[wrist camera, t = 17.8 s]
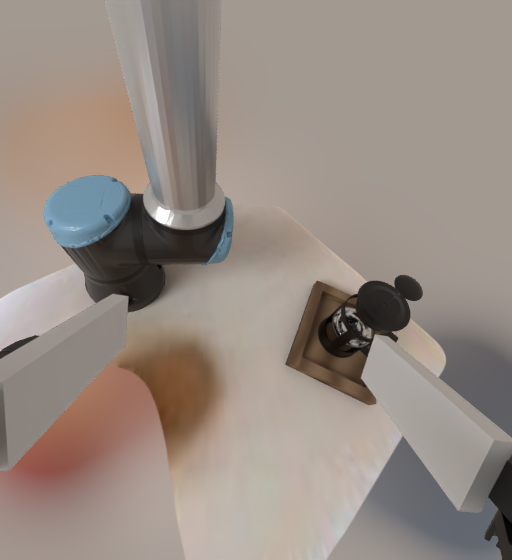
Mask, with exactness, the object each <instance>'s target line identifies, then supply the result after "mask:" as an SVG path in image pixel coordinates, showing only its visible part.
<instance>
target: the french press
mask: <svg viewBox="0 0 512 560" xmlns="http://www.w3.org/2000/svg"><path fill="white" fill-rule="evenodd" d="M422 295H423V291H422V288H421V286H420V284H419V283H418V282H417V281H416V280H415V279H413V278H412V277H410V276H407V275H400V276H398V277H396V279H395V288H394V287H393V286H391V285H389V284H387V283H385V282H381V281H369V282H367V283H365V284H364V285H362V286H361V288H360V289H359V291H358V294H355V295H352V296H351V297H349V298H348V299H347V300H346V301H345V302H344V303H343V304H342V305H341V306H339V307H338V308H337V309H336V310H335V311H334V312H333V313H332V314H331V315H330V316H329V317H327V318H325V319H324V320H323V321H322V322H321V323H320V325H319V328H318V337H319V341H320V343H321V345H322V346H323V348H324V349H325V350H326V351H327V352H328V353H330V354H331V355H333V356H335V357H339V358H347V357H350V356H352V355H353V354H354V353H355V352H357V351H359V350H360V351H361V352H362V353H363V354H364V355H365V356H366V357H368V354H369V351H370V349H369V348H368V347H367V346H369V345H371V344H372V342H373V339H374V338H373V339H372V333H373V331H372V330H374V331H377V332H383V333H382V334H380V335H382V336H388V337H389V338H391V339H392V340H393V341H394V342H395V343H396V342H397V340H398V337H397V336H395V335H394V334H393V333H392V332H393V331H399V330H401V329H403V328H404V327H406V326H407V324H408V323H409V320H410V309H409V306H408V303H407V301H406V300H405V298H406V299H408V300H411V301H417V300H419V299H421V297H422ZM351 298H357V302H356V306H355V308H351V307H345V306H346V303H347V301H348V300H349V299H351ZM341 307H342V308H341ZM330 322H332V327H333V331H334V333H335V335H336V337H337V338H336V339H335V340H333V341H332V342H331V341H330V340H329V338H328V336H327V333H326V325H327V324H328V323H330ZM343 345H347V346H350V347H351V348H350V349H349V350H347V351H342V350H340V349H338V348H340V347H341V346H343Z"/></svg>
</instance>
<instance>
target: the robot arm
mask: <svg viewBox="0 0 512 560" xmlns="http://www.w3.org/2000/svg"><path fill="white" fill-rule="evenodd" d="M104 1H105V5H106V8H107V13H108V17H109V21H110V25H111V29H112V33H113V37H114V41H115V45H116V49H117V52H118V57H119V61H120V64H121V69H122V73H123V77H124V80H125V85H126V88H127V92H128V96H129V100H130V104H131V108H132V112H133V116H134V120H135V124H136V128H137V132H138V136H139V140H140V144H141V148H142V152H143V156H144V160H145V164H146V168H147V172H148V176H149V180H150V183H149V184H148V185H147V187H146V188H145V191H144V194H132V193H130V191H129V190H128V189H127V187H126V186H125V185H124V184H123V183H122V182H120V181H117V179H115V178H113V177H109V176H103V175H92V176H85V177H81V178H77V179H75V180H72V181H70V182H68V183H67V184H65V185H64V186H61V187H60V188H58V189H57V190H56V191H55V192H54V193H53V194H52V195H51V196H50V197H49V199H48V200H47V202H46V204H45V207H44V220H45V223H46V225H47V227H48V228H49V230H50V231H51V233H52V234H53V237H54V239H55V240H56V242H57V243H59V244H60V245H61V246H62V248H63V249H64V250H65V251H66V252H67V254H68V255H69V256H70V257H71V258H72V259H73V261H74V262H75V263H76V264H77V265H78V267H79V268H80V269H81V270H82V271H83V272H84V276H85V286H86V290H87V292H88V294H89V296H90V297H91V298H92V299H93V300H94V301H95V303H96V304H94V305H93V306H91V307H89V308H87V309H86V310H84V311H82V312H80V313H79V314H77V315H75V316H74V317H72V318H70V319H68V320H67V321H65V322H63V323H62V324H60V325H58V326H56V327H55V328H53V329H51V330H49V331H48V332H46V333H44V334H43V335H41V336H36V335H35V336H32V337H29V338H26V339H23V340H20V341H17V342H15V343H13V344H11V345H9V346H8V347H6V348H4V349H2V351H0V470H1V471H10V469H11V468H12V467H13V466H14V465H15V464H16V463H17V462H18V461H19V459H20V458H22V457H23V455H24V454H25V453H26V452H27V451H28V450H29V449H30V448H31V447H32V446H33V445H34V444H35V442H36V441H37V440H38V439H39V438H40V437H41V436H42V435H43V434H44V433H45V432H46V431H47V430H48V428H49V427H50V426H51V425H52V424H53V423H54V422H55V421H56V420H57V419H58V418H59V417H60V416H61V414H62V413H63V412H64V411H65V410H66V409H67V408H68V407H69V406H70V405H71V404H72V403H73V401H74V400H75V399H76V398H77V397H78V396H79V395H80V394H81V393H82V391H84V389H86V387H87V386H88V385H89V384H90V383H91V382H92V381H93V380H94V379H95V378H96V377H97V376H98V374H99V373H100V372H101V371H102V370H103V369H104V368H105V367H106V366H107V365H108V364H109V363H110V362H111V360H112V359H113V358H114V357H115V356H116V355H117V354H118V353H119V352H120V351H121V350H122V349H123V348H124V346H125V342H126V327H127V312H131V311H135V310H138V309H141V308H143V307H145V306H147V305H148V304H150V303H151V302H153V301H154V300H155V299H156V298H157V297H158V295H159V294H160V293H161V291H162V289H163V287H164V283H165V273H164V269H163V266H162V265H170V264H201V265H207V264H210V263H220V262H222V261H223V260H225V259H226V257H227V255H228V253H229V250H230V246H231V242H232V231H233V207H232V203H231V200H230V199H229V198H227V197H225V196H224V193H223V191H222V189H221V187H220V186H219V185H218V184H217V183H216V153H217V152H216V150H217V122H218V121H217V120H218V92H219V91H218V90H219V61H220V60H219V59H220V30H221V0H104ZM361 379H362V380H363V381H364V383H365V384H366V385H367V387H368V388H369V390H370V391H371V392H372V394H373V395H374V396H375V398H376V399H377V401H378V402H379V403H380V405H381V406H382V407H383V409H384V410H385V411H386V413H387V414H388V416H389V417H390V418H391V420H392V421H393V422H394V424H395V425H396V426H397V428H398V429H399V431H400V432H401V433H402V435H403V436H404V437H405V439H406V440H407V441H408V443H409V444H410V446H411V447H412V448H413V450H414V451H415V452H416V454H417V455H418V456H419V458H420V459H421V461H422V462H423V463H424V465H425V466H426V467H427V469H428V470H429V471H430V473H431V474H432V476H433V477H434V478H435V480H436V481H437V482H438V484H439V485H440V486H441V488H442V489H443V490H444V492H445V493H446V494H447V496H448V497H449V499H450V500H451V501H452V503H453V504H454V505H455V507H456V508H457V510H458V511H466V512H476V513H481V511H482V509H483V507H484V505H485V503H486V502H487V500H488V498H490V499H491V501H492V502H493V503H494V504H495V505H496V506H497V507H498V511H497V513H496V515H495V516H494V518H493V520H492V522H491V524H490V525H489V527H488V529H487V531H486V533H485V539H486V540H488V541H490V539H491V537H492V536H498V540H499V541H498V543H497V544H496V547H498V548H499V549H500V550H501V555H502V560H512V438H511V437H510V436H509V435H508V434H506V433H505V432H504V431H502V430H501V429H500V428H499V427H498V426H496V425H495V424H494V423H493V422H492V421H490V420H489V419H488V418H487V417H486V416H484V415H483V414H482V413H481V412H480V411H478V410H477V409H476V408H475V407H473V406H472V405H471V404H470V403H469V402H467V401H466V400H465V399H464V398H462V397H461V396H460V395H459V394H458V393H456V392H455V391H454V390H453V389H452V388H450V387H449V386H448V385H447V384H445V383H444V382H443V381H442V380H441V379H439V378H438V377H437V376H436V375H434V374H433V373H432V372H431V371H430V370H428V369H427V368H426V367H425V366H424V365H422V364H421V363H420V362H419V361H417V360H416V359H415V358H414V357H413V356H411V355H410V354H409V353H408V352H406V351H405V350H404V349H403V348H402V347H400V346H399V345H398V344H397V343H395V342H394V341H393V340H392V339H391V338H389V337H388V336H382V335H376V334H375V336H374V339H373V342H372V345H371V348H370V351H369V354H368V357H367V361H366V364H365V367H364V370H363V373H362V376H361Z"/></svg>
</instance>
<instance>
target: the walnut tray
mask: <svg viewBox="0 0 512 560" xmlns="http://www.w3.org/2000/svg"><path fill="white" fill-rule="evenodd" d="M349 297H351V296H350V295H348V294H346V293H344V292H342V291H339V290H337V289H335V288H333V287H331V286H328V285H326V284H324V283H322V282H320V281H316V283H315V284H314V285H313V288H312V291H311V294H310V297H309V299H308V302H307V305H306V308H305V311H304V314H303V316H302V319H301V322H300V325H299V328H298V331H297V333H296V336H295V339H294V342H293V345H292V348H291V350H290V353H289V356H288V359H287V362H286V365H287V366H290V367H292V368H294V369H296V370H298V371H300V372H302V373H304V374H306V375H308V376H310V377H312V378H314V379H316V380H318V381H320V382H322V383H324V384H327V385H329V386H331V387H333V388H335V389H337V390H339V391H341V392H343V393H345V394H347V395H349V396H351V397H353V398H355V399H357V400H359V401H361V402H364V403H366V404H368V405H372V404H376V398H375V396H374V395H373V394H372V392H371V391H370V390H369V388H368V387H367V385H366V384H365V383H364V381H363V380H362V379H361V376H362V373H363V370H364V367H365V364H366V361H367V357H366V356H365V355H364V354H363V353H362V352H361V351H360V350H359V351H357V352H355V353H354V354H353V355H352V356H350V357H347V358H339V357H335V356H333V355H331V354H330V353H328V352H327V351H326V350H325V349H324V348H323V346H322V345H321V343H320V341H319V337H318V328H319V325H320V323H321V322H322V321H323V320H324V319H325V318H327V317H329V316H330V315H331V314H332V313H333V312H334V311H335V310H336V309H337V308H338V307H339V306H341V305H342V304H343V303H344V302H345V301H346V300H347V299H348V298H349ZM356 302H357V298H351V299H349V300H348V301H347V303H346V306H345V307H351V308H355V306H356ZM341 308H342V307H341ZM372 331H373V333H372V339H373V338H374V336H375V334H376V335H380V334H382V333H383V332H377V331H374V330H372ZM326 333H327V336H328V338H329V340H330V341H331V342H332V341H333V340H335V339H336V338H337V337H336V335H335V333H334V331H333V327H332V322H330V323H328V324H327V325H326ZM371 345H372V344H371ZM371 345H369V346H367V347H368V348H369V349H370V348H371ZM350 348H351V347H350V346H347V345H343V346H341V347H340V348H338V349H340V350H342V351H347V350H349V349H350Z"/></svg>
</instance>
